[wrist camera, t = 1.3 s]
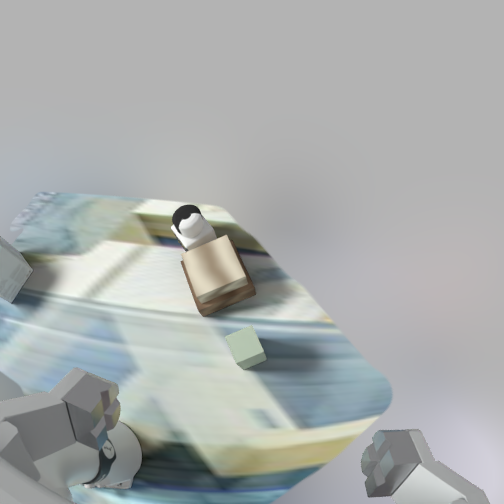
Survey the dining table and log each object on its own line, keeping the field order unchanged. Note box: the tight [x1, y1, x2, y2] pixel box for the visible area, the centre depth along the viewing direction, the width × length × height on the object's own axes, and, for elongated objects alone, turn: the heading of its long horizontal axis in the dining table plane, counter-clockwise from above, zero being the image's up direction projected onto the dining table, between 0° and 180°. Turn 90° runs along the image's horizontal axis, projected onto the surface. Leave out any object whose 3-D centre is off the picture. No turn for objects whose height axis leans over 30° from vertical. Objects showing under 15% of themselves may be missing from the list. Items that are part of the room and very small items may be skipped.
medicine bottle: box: [171, 205, 217, 252], centre depth 66 cm, size 7×7×12 cm
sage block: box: [225, 325, 267, 370], centre depth 54 cm, size 5×5×10 cm
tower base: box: [181, 240, 256, 317], centre depth 64 cm, size 12×12×4 cm
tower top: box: [181, 235, 248, 304], centre depth 61 cm, size 10×10×4 cm
